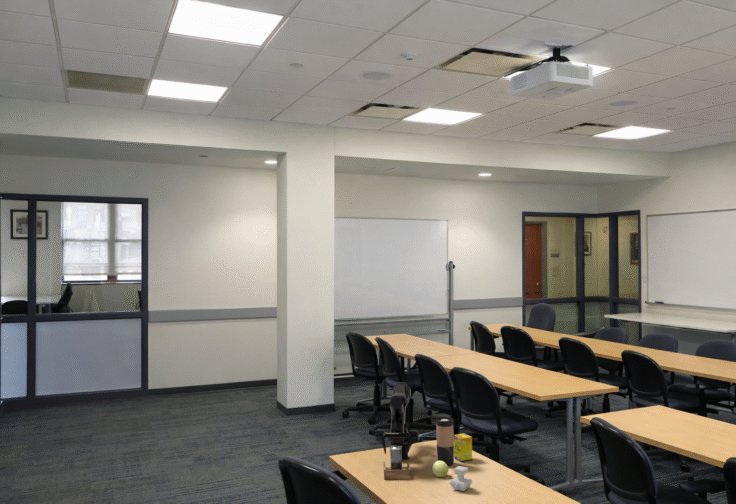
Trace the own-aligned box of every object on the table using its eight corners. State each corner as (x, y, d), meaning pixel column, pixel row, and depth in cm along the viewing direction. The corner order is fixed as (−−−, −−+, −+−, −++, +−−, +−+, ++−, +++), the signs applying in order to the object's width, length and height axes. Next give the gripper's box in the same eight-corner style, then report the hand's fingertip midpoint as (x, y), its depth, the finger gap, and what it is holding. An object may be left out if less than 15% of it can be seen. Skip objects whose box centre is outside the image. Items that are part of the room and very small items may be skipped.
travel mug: (454, 461, 267) (453, 416, 268) (454, 467, 260) (453, 421, 260) (436, 461, 268) (435, 416, 269) (437, 467, 261) (436, 421, 261)
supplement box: (454, 458, 271) (453, 434, 271) (465, 456, 273) (464, 433, 274) (461, 462, 265) (460, 438, 266) (472, 460, 268) (472, 436, 268)
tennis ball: (448, 458, 252) (433, 457, 253) (446, 466, 245) (430, 464, 247) (449, 472, 253) (433, 471, 254) (447, 480, 246) (431, 479, 248)
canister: (401, 468, 256) (399, 444, 256) (403, 472, 251) (402, 447, 251) (389, 470, 255) (388, 445, 255) (392, 474, 250) (391, 449, 250)
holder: (383, 470, 258) (383, 461, 258) (408, 469, 258) (408, 461, 258) (384, 479, 247) (384, 470, 247) (410, 478, 247) (410, 470, 247)
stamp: (458, 483, 241) (458, 463, 241) (473, 487, 237) (473, 466, 237) (448, 491, 233) (447, 469, 233) (463, 494, 229) (463, 472, 230)
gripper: (419, 430, 267) (418, 463, 256) (378, 429, 269) (375, 462, 258) (418, 417, 259) (417, 451, 248) (376, 417, 261) (373, 450, 250)
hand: (396, 454), depth 251 cm, fingers open, 9 cm apart
